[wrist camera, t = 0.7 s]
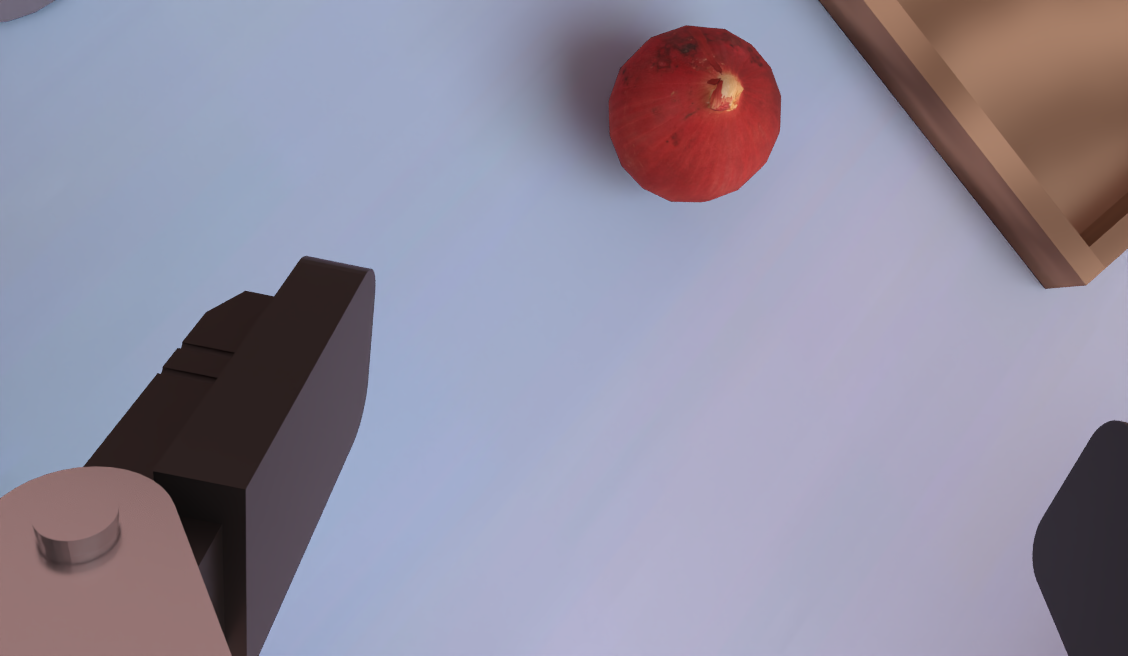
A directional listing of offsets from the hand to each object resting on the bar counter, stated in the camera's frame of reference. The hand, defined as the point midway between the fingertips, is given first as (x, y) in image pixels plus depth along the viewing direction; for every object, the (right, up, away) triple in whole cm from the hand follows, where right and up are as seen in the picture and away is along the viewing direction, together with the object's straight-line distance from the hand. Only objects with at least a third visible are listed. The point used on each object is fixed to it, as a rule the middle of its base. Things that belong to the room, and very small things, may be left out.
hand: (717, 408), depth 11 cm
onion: (+2, +8, +26) cm, 28 cm away
